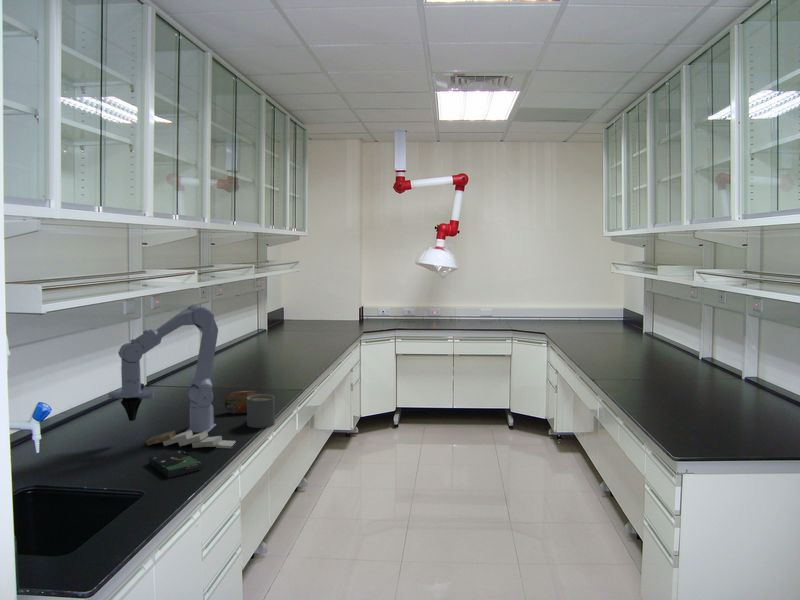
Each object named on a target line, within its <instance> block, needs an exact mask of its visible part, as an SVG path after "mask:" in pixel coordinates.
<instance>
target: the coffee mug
mask: <svg viewBox="0 0 800 600" xmlns="http://www.w3.org/2000/svg"><path fill="white" fill-rule="evenodd" d="M275 399H276V398H275V396H274V395H273V394H268V393H264V394H263V393H261V394H256V395H251V396H248V397H247V413H246V426H247V427H249V428H252V429H253V428H255V429H264V428H271V427H272V426H274V425H275V420H276V419H275V418H276V416H275V415H276V414H275V413H276V411H275V410H276V409H275V407H276V406H275V405H276V404H275Z"/></svg>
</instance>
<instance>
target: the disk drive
mask: <svg viewBox="0 0 800 600" xmlns="http://www.w3.org/2000/svg"><path fill="white" fill-rule="evenodd" d="M148 464H149V465H150V466H151V467H153V468H154V469H155V470H157V471H158V472H159V473H161V474H162V475H164V476H165V477H167V478H168V479H170V478H173V477H178V475H179V476H183V475H186V474H185V473H187V474H190V473H189V472H191V473H194V472H193V471H195V472H197V471H196V470H199V469H202V470H203V464H202V463H201V461H200V460H199V459H197V458H196V457H194V456H192V455H191V454H189V453H187V452H186V451H184V450H182V449H180V450H179V449H178V450H175V451H171V452H165V453H163V454H162V455H157V454H156V455H152V456H149V457H148ZM199 471H200V470H199ZM182 474H183V475H182Z"/></svg>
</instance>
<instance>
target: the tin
mask: <svg viewBox="0 0 800 600" xmlns="http://www.w3.org/2000/svg"><path fill="white" fill-rule="evenodd" d="M256 394H262V393H261V392H259V391H257V390H244V391H243V390H241V391H232V392H230V393H229V394H227V395H226V396H225V398H224V401H223V402H224V407H225V410H226V411H227V412H228V413H230V414H233V415H235V413H237V414H244V413H245V414H247V397H248V396H251V395H256Z"/></svg>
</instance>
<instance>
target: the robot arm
mask: <svg viewBox="0 0 800 600" xmlns="http://www.w3.org/2000/svg"><path fill="white" fill-rule="evenodd" d="M216 322H217V321H216V320H215V314H214V313H213V312H212V311H211V310H210V309H209V308H207V307H202V306H199V305H197V304H193V305H192V304H191V305H190V306H188V307H187V308H184V309H182V310H181V311H180V312H179V313H177V314H175V316H173V317H171V318H170V319H169V320H168V321H166V322H165V323H163V324H162V325H161V326H159V327H157V328H156V329H152V328H151V329H144V330H143V331H142V332H143V333H142V334H141V335H138V336H137V337H136V338H132V339H130V342H128V343H127V342H126V343H123V344H122V345H121V346H120V348H119V349H118V350H119V351H118V356H119V358H120V361H121V366H120V367H121V368H120V370H121V371H120V372H121V373H120V375H121V390H119V391H111V392H109V393H107V394H108V399H109V400H112V399H121V401H120V404H121V405H122V407H123V408H124V410H125V412H126V415H127V418H128V421H129V422H133V421H135V420H136V419H137V413H138V410H139V408H140V405H141V403H142V402H143V400H150V401H151V400H154V399H155V394H156V393H155V392H152V391H143V390H142V385H141V384H142V381H141V359H142V357H143V355H145V354H146V353H148V352H149V351H150V350H153V349H154V348H155V347H156V346H159V344H161V342H162V339H163V338H164V337H165V336H167V335H169V334H171V333H172V332H174V331H175V330H177V329H178V328H179V329H180V327H182V326H195V327H196V328H197V329H198V330H199V332H201V339H200V343H199V344H200V345H199V349H198V357H197V361H196V362H197V363H196V370H195V374H194V377H193V379H192V380H191V382H190V383H191V384H190V386H189V388H188V389H187V392H186V395H187V398H188V399H189V401H190V403H189V428H187V429H186V430H185V432H186V431H190V430H191V431H192V433H196V434H199V433H202V432H206V431H207V433H209V432H210V431H212V430H213V429H214V428H215V427H216V426H217V423H214V422H215V421H214V419H215V417H214V414H215V413H214V406H213V404H212V402H213V400H214V393H213V384H212V381H211V377H212V372H213V365H214V358H215V355H216V354H215V352H216V346H217V342H218V341H217V340H218V334H219V328H218V326H217V323H216Z"/></svg>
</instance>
